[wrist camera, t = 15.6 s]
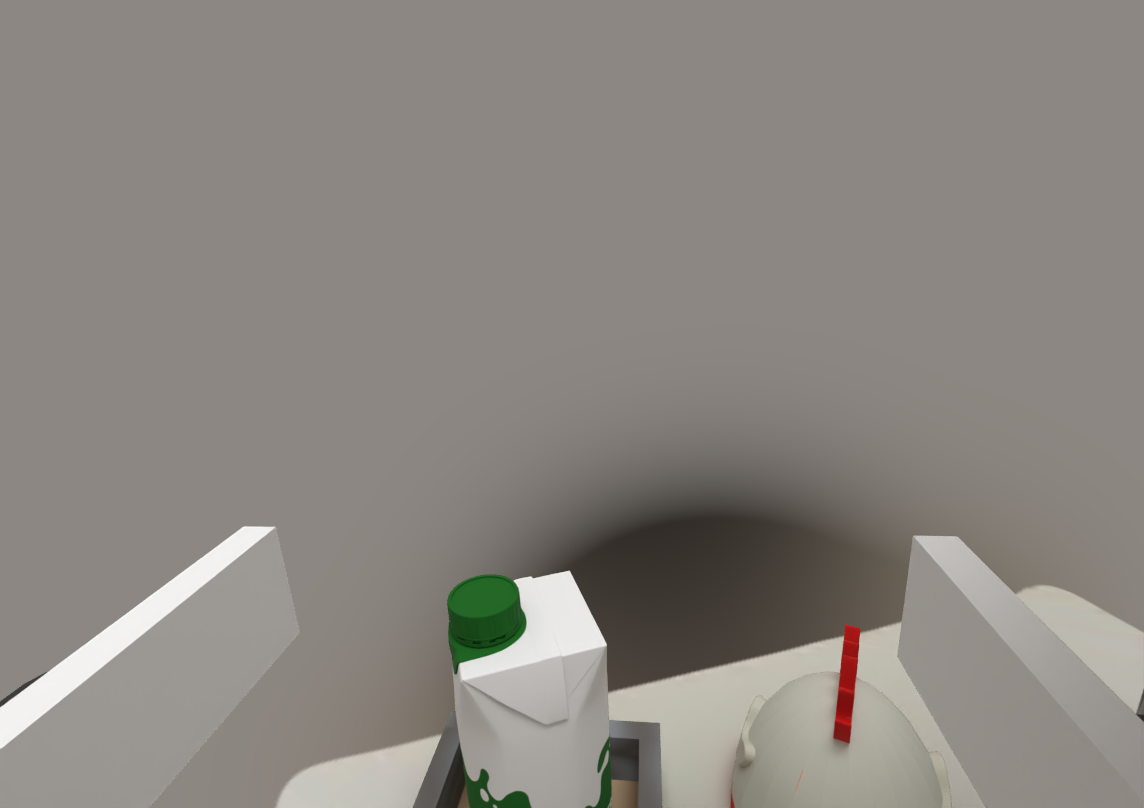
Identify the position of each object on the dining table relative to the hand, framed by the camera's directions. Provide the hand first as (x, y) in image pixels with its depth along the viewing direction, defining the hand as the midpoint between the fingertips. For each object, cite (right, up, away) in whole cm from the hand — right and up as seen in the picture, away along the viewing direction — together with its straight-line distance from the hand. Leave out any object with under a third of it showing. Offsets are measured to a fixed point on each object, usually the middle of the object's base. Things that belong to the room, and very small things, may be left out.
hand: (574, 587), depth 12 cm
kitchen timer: (+18, -26, +29) cm, 43 cm away
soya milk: (-2, -26, +26) cm, 37 cm away
